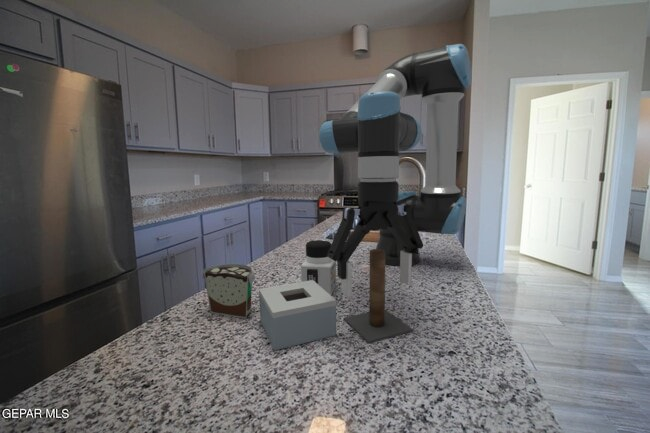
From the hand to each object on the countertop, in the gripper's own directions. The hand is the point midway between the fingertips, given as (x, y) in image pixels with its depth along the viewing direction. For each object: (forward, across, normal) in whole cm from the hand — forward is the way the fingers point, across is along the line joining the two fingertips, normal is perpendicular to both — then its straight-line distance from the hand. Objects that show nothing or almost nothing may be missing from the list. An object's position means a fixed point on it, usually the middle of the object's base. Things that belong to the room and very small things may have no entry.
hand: (377, 288), depth 62 cm
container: (+8, +3, -23) cm, 24 cm away
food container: (+8, +25, -20) cm, 33 cm away
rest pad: (+8, 0, 0) cm, 8 cm away
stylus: (+7, 0, 0) cm, 7 cm away
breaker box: (+8, +15, -6) cm, 18 cm away
